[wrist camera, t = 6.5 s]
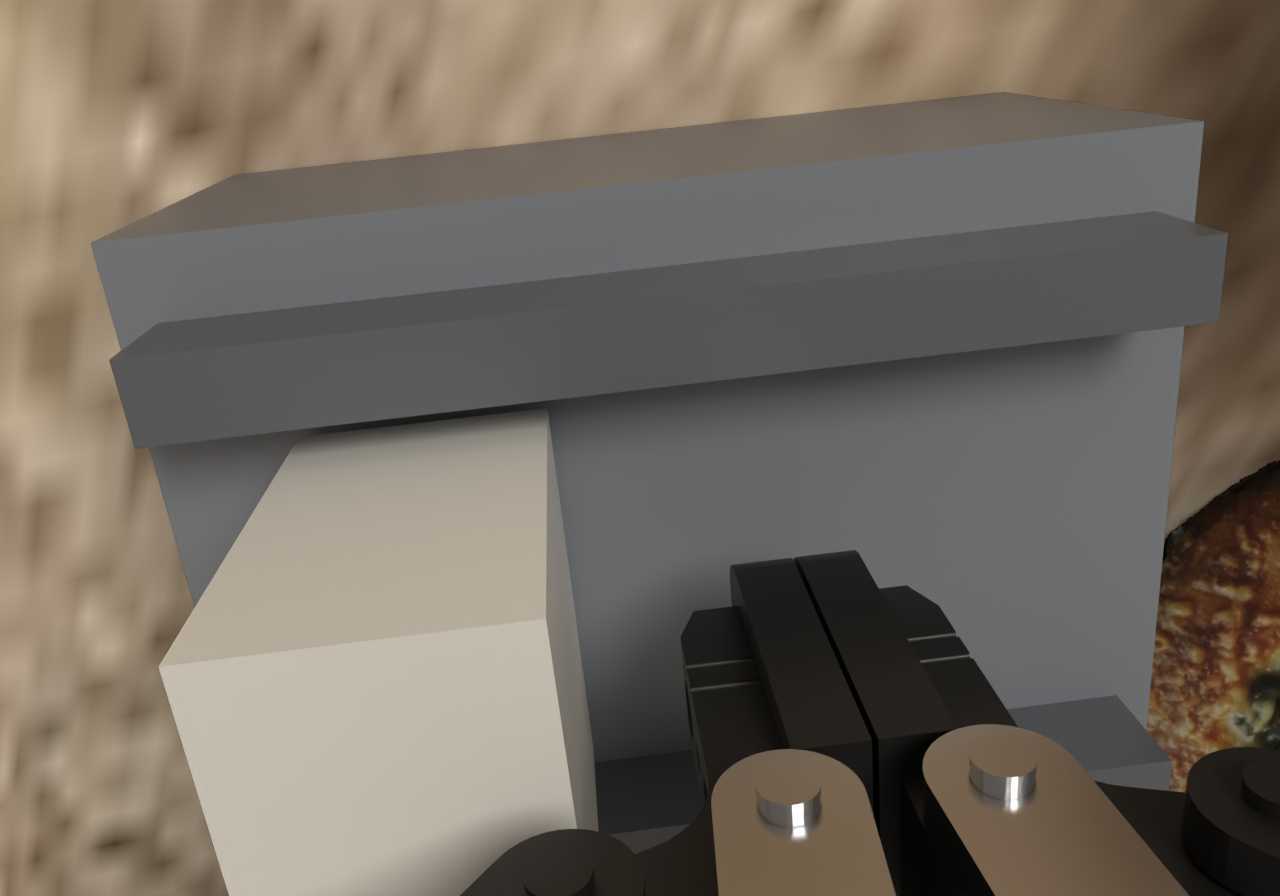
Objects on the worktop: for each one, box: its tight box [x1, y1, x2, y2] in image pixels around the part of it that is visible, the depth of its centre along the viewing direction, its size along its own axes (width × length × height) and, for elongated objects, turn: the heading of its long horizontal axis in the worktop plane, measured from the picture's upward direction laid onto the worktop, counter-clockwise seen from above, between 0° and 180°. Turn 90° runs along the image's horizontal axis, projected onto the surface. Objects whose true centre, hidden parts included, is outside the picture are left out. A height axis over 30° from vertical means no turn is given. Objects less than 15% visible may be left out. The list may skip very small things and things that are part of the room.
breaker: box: [159, 408, 599, 896], centre depth 12 cm, size 3×5×5 cm, turn 6°
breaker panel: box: [91, 92, 1228, 854], centre depth 18 cm, size 13×20×8 cm, turn 6°
